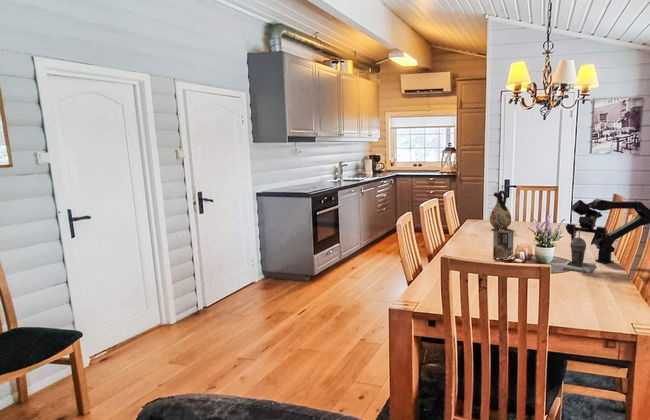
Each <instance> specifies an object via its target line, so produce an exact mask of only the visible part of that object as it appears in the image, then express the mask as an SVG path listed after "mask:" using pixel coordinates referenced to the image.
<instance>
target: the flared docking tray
mask: <svg viewBox="0 0 650 420" xmlns="http://www.w3.org/2000/svg"><path fill="white" fill-rule="evenodd" d="M570 264H572V260H567V261H566V262H565V263H564V264H563V265H562V269H563V268H566V269H573V270H581V271H585V272H588V273H587V274H591V273H590V272H591V269H588V268H584V267H577V266H569V265H570ZM582 266H596V267H597V264H596V263H595V262H584V261H583V265H582Z"/></svg>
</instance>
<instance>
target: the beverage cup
mask: <svg viewBox="0 0 650 420" xmlns="http://www.w3.org/2000/svg"><path fill="white" fill-rule="evenodd" d="M580 236H581V231H580V230H579V231H578V237H575V238H574V239H573V240H572V241H571V242H570V245H569V246H570V250H571V253H570V254H571V261H572V266H577V267H582V265H583V262H584V260H585V253H586V249H587V248H586V247H587V243H586V241H585V239H583V238H582V237H580Z"/></svg>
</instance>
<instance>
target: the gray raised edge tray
mask: <svg viewBox="0 0 650 420" xmlns="http://www.w3.org/2000/svg"><path fill="white" fill-rule="evenodd" d="M569 266H572V264H570V265H569ZM582 267H584V268H588V269H591V272H590V273H588V272H585V271H581V270H573V269H566V268H563V267H562V269H565V270H564V271H569V270H570V271H571V272H576V273H577V272H579V273H584V274H592V273H593V272H594V270H596V268H597V265H596V266H582Z"/></svg>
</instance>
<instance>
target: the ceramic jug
mask: <svg viewBox="0 0 650 420" xmlns="http://www.w3.org/2000/svg"><path fill="white" fill-rule="evenodd" d="M493 196H494V198H497V202H496V204H495V205H494V206H493V208H492V210H491V212H490V216H489V224H490V225H491V226H492V227H493V229H494V230H495V229H500V230H505V229H506V230H508V227H509V226H510V225H511V224H512V215H511V212H510V210H509V208H508V207H507V205H506V203H507V199H508V194H507V192H506V191H505V190H499V191H498V192H496V191H495V192H494V193H493ZM506 230H505V231H506Z"/></svg>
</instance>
